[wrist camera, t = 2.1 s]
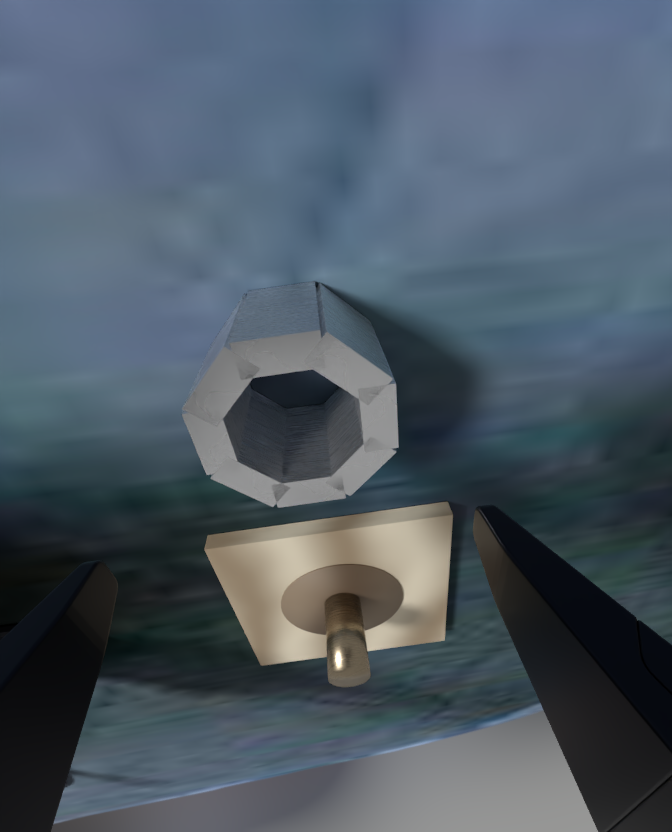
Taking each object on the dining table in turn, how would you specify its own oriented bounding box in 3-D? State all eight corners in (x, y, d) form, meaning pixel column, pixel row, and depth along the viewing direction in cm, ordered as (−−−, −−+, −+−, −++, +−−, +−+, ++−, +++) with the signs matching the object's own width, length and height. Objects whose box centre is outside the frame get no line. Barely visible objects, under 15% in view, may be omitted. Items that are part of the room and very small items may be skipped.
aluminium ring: (239, 436, 19) (223, 515, 15) (195, 298, 15) (156, 353, 11) (378, 416, 19) (400, 490, 15) (368, 273, 15) (393, 319, 11)
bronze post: (326, 614, 27) (331, 689, 23) (321, 594, 25) (325, 670, 22) (361, 609, 27) (372, 683, 23) (358, 588, 25) (368, 664, 22)
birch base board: (262, 652, 31) (261, 667, 30) (207, 535, 23) (203, 551, 22) (440, 627, 31) (444, 641, 30) (447, 501, 23) (453, 515, 22)
